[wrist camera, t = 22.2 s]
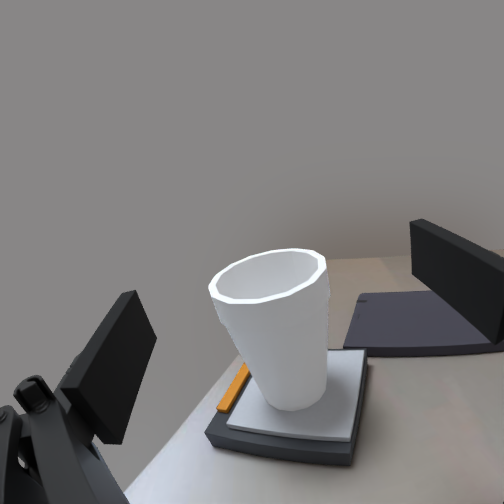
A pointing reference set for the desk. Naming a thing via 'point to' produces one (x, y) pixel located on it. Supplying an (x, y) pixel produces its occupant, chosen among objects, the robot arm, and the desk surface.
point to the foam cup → (278, 322)
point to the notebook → (412, 326)
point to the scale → (295, 416)
